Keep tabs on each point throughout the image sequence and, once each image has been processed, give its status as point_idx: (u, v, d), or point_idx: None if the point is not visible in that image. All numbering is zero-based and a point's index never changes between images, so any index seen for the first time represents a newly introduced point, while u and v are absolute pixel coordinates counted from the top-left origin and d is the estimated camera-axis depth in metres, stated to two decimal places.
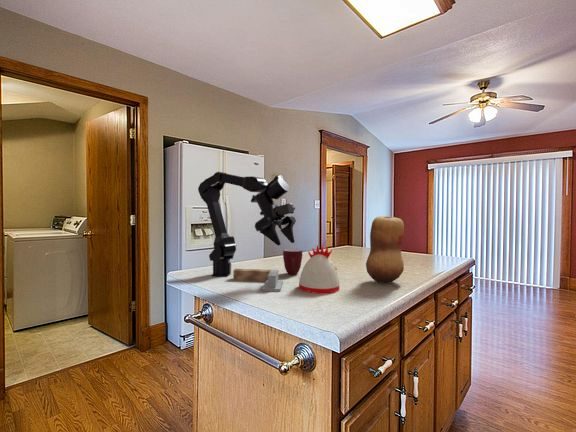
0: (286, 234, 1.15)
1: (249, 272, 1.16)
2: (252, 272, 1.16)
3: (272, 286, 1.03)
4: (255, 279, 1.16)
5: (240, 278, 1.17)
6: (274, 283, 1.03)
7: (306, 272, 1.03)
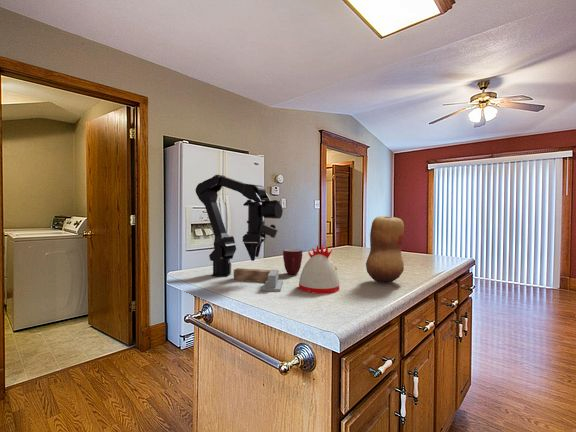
0: None
1: (249, 272, 1.17)
2: (252, 272, 1.16)
3: (272, 286, 1.03)
4: (254, 279, 1.16)
5: (240, 278, 1.17)
6: (274, 283, 1.03)
7: (306, 272, 1.03)
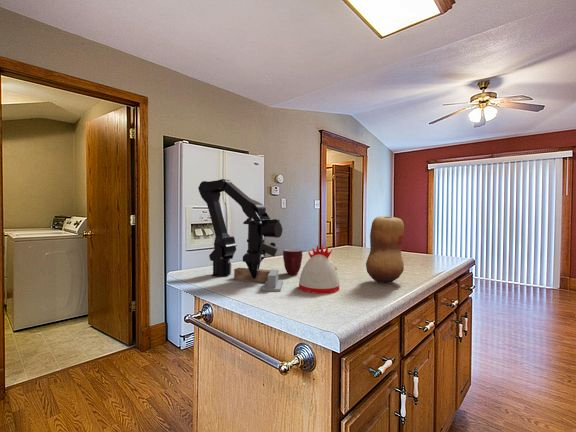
0: None
1: (248, 271, 1.17)
2: None
3: (272, 286, 1.03)
4: (254, 279, 1.16)
5: (240, 277, 1.18)
6: (274, 283, 1.03)
7: (306, 272, 1.03)
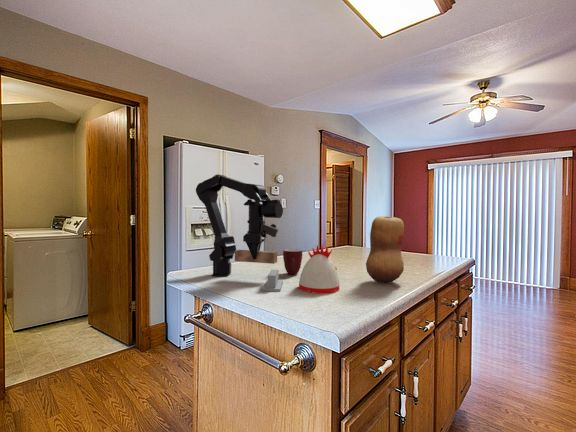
0: None
1: (249, 253, 1.17)
2: None
3: (272, 286, 1.03)
4: (255, 260, 1.16)
5: (241, 258, 1.18)
6: (274, 283, 1.03)
7: (306, 272, 1.03)
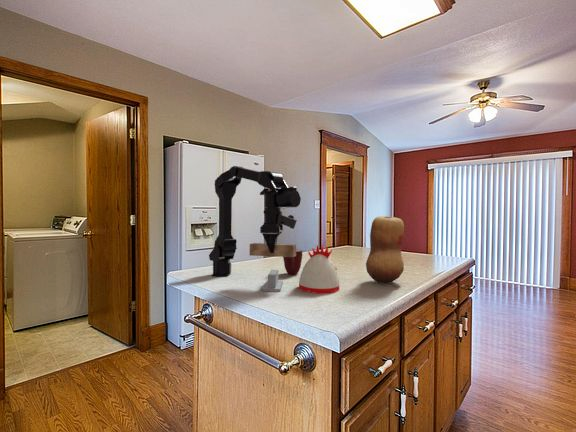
0: None
1: (266, 246, 1.07)
2: None
3: (272, 286, 1.03)
4: (272, 254, 1.06)
5: (256, 252, 1.08)
6: (274, 283, 1.03)
7: (306, 272, 1.03)
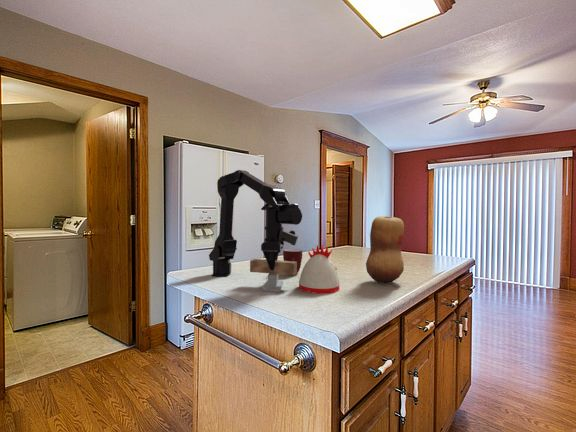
0: None
1: (266, 263, 1.06)
2: None
3: (272, 286, 1.03)
4: (273, 271, 1.06)
5: (257, 269, 1.07)
6: (274, 283, 1.03)
7: (306, 272, 1.03)
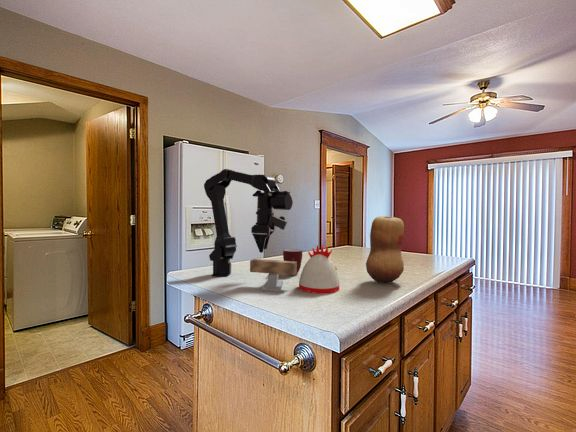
0: None
1: (266, 263, 1.06)
2: (269, 263, 1.06)
3: (272, 286, 1.03)
4: (273, 271, 1.06)
5: (257, 269, 1.07)
6: (274, 283, 1.03)
7: (306, 272, 1.03)
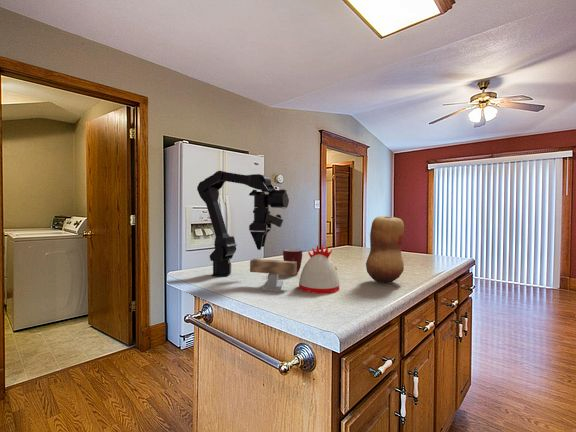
0: None
1: (266, 263, 1.06)
2: (269, 263, 1.06)
3: (272, 286, 1.03)
4: (273, 271, 1.06)
5: (257, 269, 1.07)
6: (274, 283, 1.03)
7: (306, 272, 1.03)
